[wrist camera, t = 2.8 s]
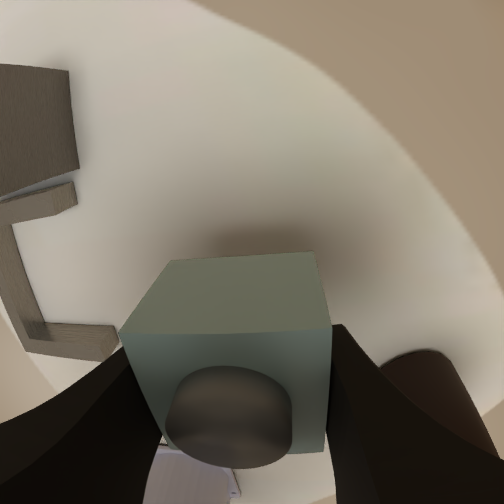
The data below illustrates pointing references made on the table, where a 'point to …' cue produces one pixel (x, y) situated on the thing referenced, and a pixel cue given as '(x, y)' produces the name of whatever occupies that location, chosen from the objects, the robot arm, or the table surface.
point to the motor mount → (38, 202)
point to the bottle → (440, 395)
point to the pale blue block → (235, 357)
